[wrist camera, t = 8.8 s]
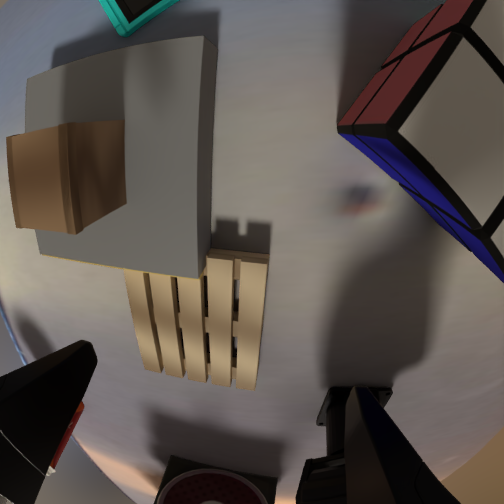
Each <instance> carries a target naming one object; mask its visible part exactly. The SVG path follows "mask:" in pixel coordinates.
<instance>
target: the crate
mask: <svg viewBox="0 0 504 504" xmlns="http://www.w3.org/2000/svg"><path fill="white" fill-rule="evenodd" d="M6 143H7V162H8V174H9V184H10V193H11V200H12V207H13V213H14V219H15V224H16V228H29V229H38V230H46V231H55V232H64V233H67V234H73V235H77V234H78V233H80V232H82V231H83V229H84V228H85V227H87V226H89V225H90V224H92V223H94V222H95V221H97V220H99V219H101V218H102V217H104V216H106V215H107V214H109V213H111V212H113V211H115V210H116V209H118V208H120V207H122V206H124V205H125V204H127V198H126V179H125V120H111V121H95V122H83V123H76V122H71V123H64V124H59V125H58V126H54V127H50V128H45V129H40V130H36V131H32V132H28V133H24V134H18V135H13V136H9V137H6Z"/></svg>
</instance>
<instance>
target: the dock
mask: <svg viewBox="0 0 504 504" xmlns="http://www.w3.org/2000/svg"><path fill="white" fill-rule="evenodd" d="M217 54H218V49H217V48H216V47H215V46H214V45H213V44H212V43H211V42H210V41H209V40H208V39H207V38H206V37H205V36H194V37H184V38H176V39H168V40H161V41H155V42H149V43H144V44H138V45H133V46H128V47H124V48H119V49H115V50H111V51H107V52H103V53H100V54H96V55H92V56H89V57H86V58H82V59H79V60H76V61H73V62H70V63H67V64H64V65H61V66H58V67H56V68H53V69H50V70H48V71H45V72H43V73H40V74H38V75H35V76H33V77H31V78H28V79H27V86H26V102H25V133H28V132H32V131H36V130H40V129H45V128H50V127H54V126H58V125H59V124H64V123H71V122H76V123H83V122H95V121H111V120H125V179H126V198H127V204H125V205H124V206H122V207H120V208H118V209H116V210H115V211H113V212H111V213H109V214H107V215H106V216H104V217H102V218H101V219H99V220H97V221H95V222H94V223H92V224H90V225H89V226H87V227H85V228H84V229H83V231H82V232H80V233H78V234H77V235H73V234H67V233H64V232H55V231H46V230H38V229H35V232H36V237H37V242H38V246H39V251H40V254H42V255H44V256H49V257H55V258H60V259H65V260H71V261H77V262H82V263H88V264H94V265H100V266H106V267H112V268H118V269H125V270H131V271H138V272H144V273H151V274H157V275H164V276H171V277H178V278H186V279H193V280H200V278H201V277H202V275H203V273H204V269H205V267H206V255H207V253H208V252H209V250H210V249H211V182H212V147H213V122H214V101H215V84H216V68H217Z"/></svg>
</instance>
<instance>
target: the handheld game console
mask: <svg viewBox="0 0 504 504" xmlns="http://www.w3.org/2000/svg"><path fill="white" fill-rule="evenodd" d="M178 1H180V0H99V2H100V3H101V5H102V7H103V9H104V10H105V12H106V14H107V16H108V17H109V19H110V21H111V22H112V24H113V26H114V28H116V31H117V33H118V34H119V35H121V36H123V37H128V36H130V35H131V34H132V33H134V32H135V31H136V30H138V29H139V28H140V27H142V26H143V25H144V24H146V23H147V22H148V21H150V20H151V19H152V18H154V17H155V16H157V15H158V14H160V13H161V12H163V11H164V10H166V9H167V8H169V7H170V6H172V5H173V4H175V3H176V2H178Z"/></svg>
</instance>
